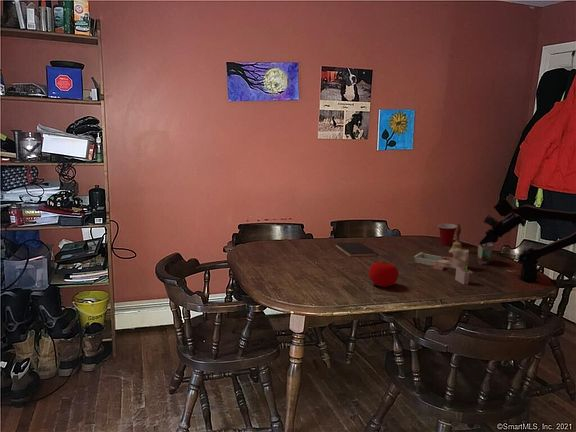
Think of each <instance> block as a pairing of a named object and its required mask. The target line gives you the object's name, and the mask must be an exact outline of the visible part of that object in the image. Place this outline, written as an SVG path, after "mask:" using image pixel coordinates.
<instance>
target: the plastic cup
mask: <svg viewBox="0 0 576 432" xmlns="http://www.w3.org/2000/svg"><path fill="white" fill-rule="evenodd" d="M457 225H458V224H457ZM457 225H456V224H453V223H440V224H437V226H438V229H439V239H440V244H441V245H442V246H446V247H448V246H449V247H450V246H451V247H452V245H453V241H454V237H455V234H456V227H457Z"/></svg>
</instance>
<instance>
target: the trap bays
mask: <svg viewBox="0 0 576 432" xmlns="http://www.w3.org/2000/svg"><path fill="white" fill-rule="evenodd" d="M442 259H443V260H448V261H452V260H453V257H450V256H442ZM431 269H434V270H440V271H444V270H445V269H446V267H445V265H443V266H439V265H437V263H435V264H433V265H431Z"/></svg>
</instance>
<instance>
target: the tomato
mask: <svg viewBox="0 0 576 432" xmlns="http://www.w3.org/2000/svg"><path fill="white" fill-rule="evenodd" d="M368 276H369V277H368V278H369V279H370V281H371V282H372V284H373V285H376V286H378V287H382V288H384V287H385V288H387V287H390V286H393V285H394V284H396V283H397V281H398V278H399V270H398V267H397V266H396V265H395V264H394V263H391V262H388V261H386V260H384V261H381V260H380V261H375V262H374V263H373V264H372V265H371V266H370V267H369V271H368Z"/></svg>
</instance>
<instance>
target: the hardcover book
mask: <svg viewBox="0 0 576 432" xmlns="http://www.w3.org/2000/svg"><path fill="white" fill-rule="evenodd" d="M334 244H335V247H336V248H338V249H339V250H341V251H342V252H343V253H345V254H346V255H347V256H348V257H350V258H351V257H377V256H379V252H376V251H375V250H374V249H372V248H370V247H369V246H367V245H366V244H364V243H362V242H358V241H357V242H334Z"/></svg>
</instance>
